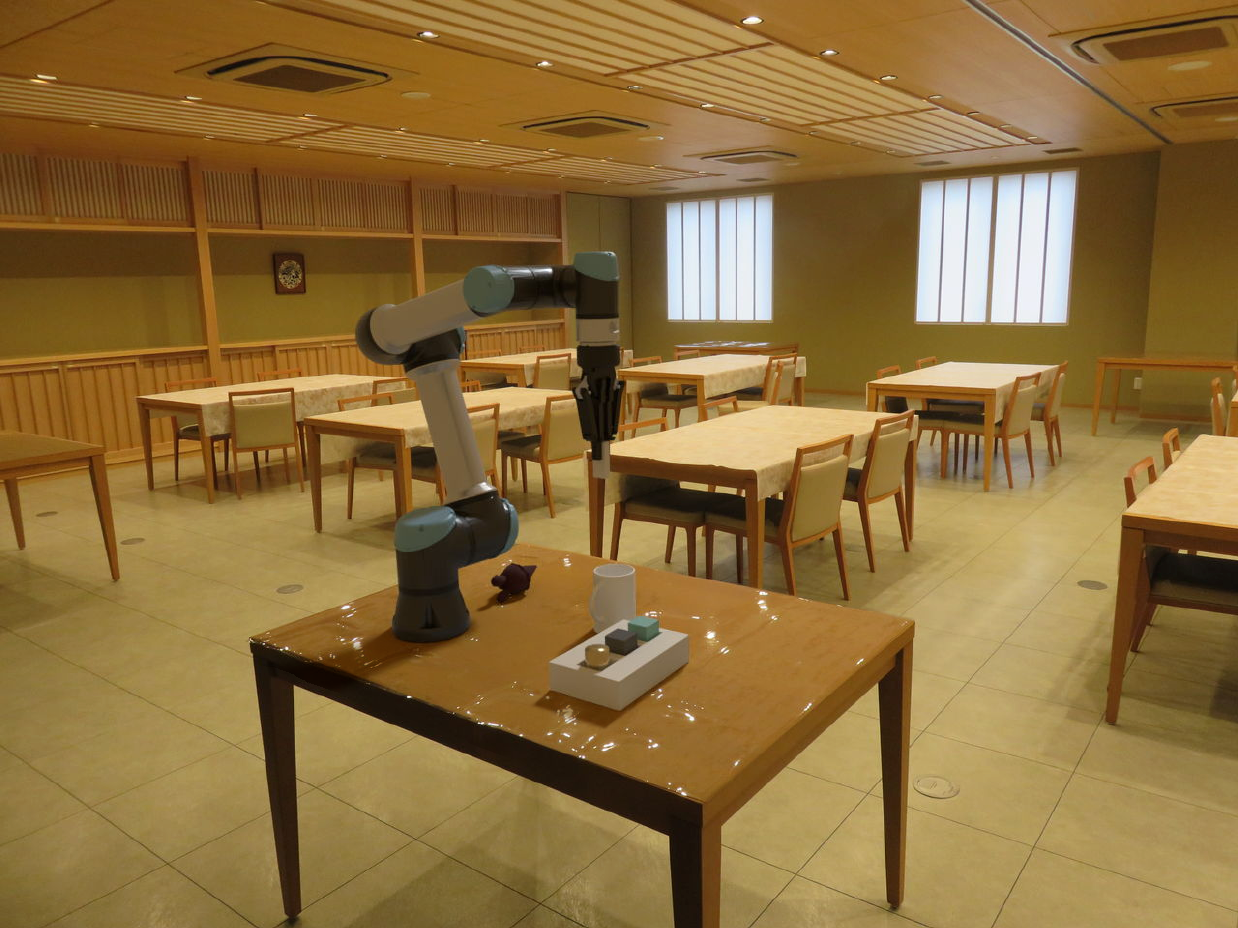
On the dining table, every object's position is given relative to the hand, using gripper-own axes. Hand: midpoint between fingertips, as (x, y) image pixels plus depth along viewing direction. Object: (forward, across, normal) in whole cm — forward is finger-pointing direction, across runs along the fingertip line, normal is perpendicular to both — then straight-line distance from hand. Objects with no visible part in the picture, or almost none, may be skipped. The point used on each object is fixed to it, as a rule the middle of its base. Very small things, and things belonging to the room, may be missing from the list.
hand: (601, 477), depth 160 cm
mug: (+33, +7, +4) cm, 34 cm away
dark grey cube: (+30, -8, -9) cm, 32 cm away
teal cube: (+30, -1, -9) cm, 31 cm away
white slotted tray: (+32, -8, -9) cm, 35 cm away
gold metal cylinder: (+30, -15, -9) cm, 34 cm away
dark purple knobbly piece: (+33, +14, +34) cm, 49 cm away
